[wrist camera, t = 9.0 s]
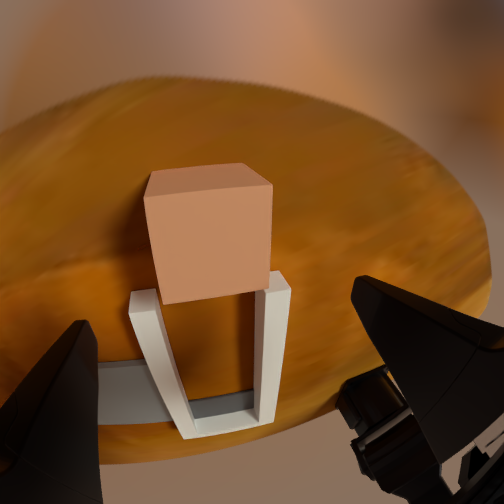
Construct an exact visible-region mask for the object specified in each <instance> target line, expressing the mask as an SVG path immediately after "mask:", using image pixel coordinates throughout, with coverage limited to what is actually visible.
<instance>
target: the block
mask: <svg viewBox="0 0 504 504" xmlns="http://www.w3.org/2000/svg"><path fill="white" fill-rule="evenodd" d="M272 194H273V185H272V184H271V183H270V182H268V181H267V180H266V179H264V178H263V177H261V176H260V175H259V174H257V173H256V172H255V171H253V170H252V169H250V168H249V167H248V166H246V165H245V164H243V163H233V164H219V165H207V166H196V167H186V168H177V169H168V170H160V171H153V172H152V173H151V176H150V179H149V182H148V185H147V188H146V191H145V195H144V205H145V212H146V219H147V225H148V231H149V237H150V243H151V248H152V254H153V259H154V264H155V269H156V274H157V279H158V283H159V288H160V292H161V297H162V301H163V305H165V304H172V303H180V302H187V301H194V300H200V299H207V298H214V297H220V296H226V295H233V294H239V293H245V292H251V291H257V290H263V289H268V288H269V277H270V253H271V226H272Z"/></svg>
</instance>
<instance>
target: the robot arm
mask: <svg viewBox="0 0 504 504" xmlns="http://www.w3.org/2000/svg"><path fill="white" fill-rule="evenodd" d="M351 302H352V304H353V306H354V308H355V310H356V312H357V314H358V316H359V318H360V320H361V322H362V324H363V326H364V328H365V330H366V332H367V334H368V336H369V338H370V339H371V341H372V343H373V344H374V346H375V348H376V349H377V351H378V353H379V354H380V356H381V358H382V359H383V361H384V363H385V364H386V365H384V366H382V367H379V368H377V369H375V370H373V371H370V372H368V373H365V374H363V375H361V376H358V377H356V378H353V379H350V380H349V381H347V382H346V384H345V386H344V388H343V391H342V393H341V395H340V397H339V399H338V401H337V403H336V405H335V408H336V409H337V410H338V409H339V410H340V412H341V414H342V416H343V417H344V419H345V421H346V422H347V424H348V426H349V428H350V429H355V431H356V432H357V434H358V436H359V437H358V438H356V439H353V440H352V441H351V442H352V443H351V444H350V446H351V447H352V449H353V451H354V453H355V455H356V458H357V461H358V464H359V468H360V471H361V473H362V474H363V475H367V476H368V477H369V478H370V479H371V480H372V481H375V480H376V481H377V483H378V484H379V486H380V488H381V490H383V491H385V492H387V493H389V494H390V493H392V494H394V495H397V496H399V497H402V498H404V499H406V500H407V501H408V503H409V504H504V327H500V326H497V325H495V324H492V323H489V322H485V321H483V320H480V319H477V318H474V317H471V316H468V315H466V314H463V313H461V312H458V311H456V310H453V309H451V308H448V307H446V306H443V305H441V304H438V303H436V302H433V301H431V300H428V299H426V298H423V297H421V296H418V295H416V294H413V293H411V292H408V291H406V290H403V289H401V288H398V287H396V286H393V285H391V284H388V283H386V282H383V281H380V280H378V279H375V278H373V277H370V276H367V275H363V276H358V277H356V278H355V280H354V284H353V288H352V292H351ZM388 371H390V373H391V375H392V376H393V378H394V380H395V381H396V383H397V385H398V387H399V389H400V390H401V392H402V394H403V396H404V397H405V398H404V397H403V396H402V394H401V393H400V392H399V390H398V389H397V387H396V386H395V385H394V383H393V382H392V381H391V379H390V378H389V377H388V375H387V373H388ZM98 395H99V378H98V344H97V339H96V337H95V334H94V332H93V330H92V328H91V326H90V324H89V322H88V321H87V320H76V321H74V322H73V323H72V325H71V326H70V327H69V328H68V329H67V330H66V331H65V332H64V333H63V334H62V335H61V336H60V337H59V339H58V340H57V341H56V342H55V343H54V344H53V345H52V346H51V347H50V349H49V350H48V351H47V352H46V353H45V354H44V355H43V357H42V358H41V359H40V360H39V361H38V362H37V364H36V365H35V366H34V367H33V368H32V370H31V371H30V372H29V373H28V374H27V376H26V377H25V378H24V379H23V380H22V382H21V383H20V384H19V385H18V387H17V388H16V389H15V392H13V393H12V394H11V396H10V397H9V398H8V399H7V401H6V402H5V403H4V404H3V406H2V407H1V408H0V504H103V498H102V491H101V481H100V469H99V452H98ZM405 399H406V400H405ZM412 412H413V415H412V414H411V413H412ZM472 441H474V443H475V445H474V446H473V447H472V448H471V449H470V450H469V451H468V452H467V453H466V454H465V455H464V456H463V457H462V463H461V468H460V474H459V480H458V484H459V485H460V487H461V489H460V490H458V491H457V493H455V494H453V493H452V491H451V490H450V488H449V487H448V485H447V483H446V482H445V480H444V479H443V477H442V476H441V470H442V463H444V462H445V461H446V460H448V459H449V458H451V457H452V456H453V455H455V454H456V453H458V452H459V451H460V450H461V449H463V448H464V447H465V446H467V445H468V444H469V443H470V442H472Z"/></svg>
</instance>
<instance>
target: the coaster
mask: <svg viewBox="0 0 504 504" xmlns="http://www.w3.org/2000/svg"><path fill="white" fill-rule="evenodd" d="M98 378H99V395H98V425H113V424H140V423H155V422H166V421H174V420H173V418H172V416H171V414H170V412H169V410H168V408H167V406H166V404H165V402H164V400H163V398H162V396H161V394H160V392H159V389H158V387H157V385H156V383H155V381H154V378H153V376H152V374H151V371H150V369H149V367H148V364H147V362H146V359H139V360H128V361H116V362H101V363H98Z"/></svg>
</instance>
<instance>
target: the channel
mask: <svg viewBox="0 0 504 504" xmlns="http://www.w3.org/2000/svg"><path fill="white" fill-rule="evenodd" d="M290 295H291V288H290V286H289V285H288V283H287V282H286V280H285V279H284V277H283V276H282V275H281V273H280V272H279V270H278V271H272V272H270V277H269V288H268V289H263V290H257V291H255V337H254V389H250V390H246V391H241V392H236V393H231V394H226V395H220V396H215V397H209V398H203V399H196V400H189V401H188V399H187V397H186V394H185V391H184V388H183V385H182V382H181V379H180V376H179V373H178V369H177V366H176V363H175V360H174V357H173V353H172V350H171V346H170V343H169V339H168V336H167V332H166V328H165V325H164V321H163V317H162V313H161V309H160V305H159V301H158V297H157V293H156V288H154V289H147V290H139V291H131V297H130V305H129V313H128V314H129V317H130V320H131V322H132V325H133V328H134V331H135V334H136V336H137V339H138V342H139V344H140V347H141V349H142V352H143V354H144V357H145V359H146V362H147V364H148V367H149V369H150V371H151V374H152V376H153V378H154V381H155V383H156V385H157V387H158V389H159V392H160V394H161V396H162V398H163V400H164V402H165V404H166V406H167V408H168V410H169V412H170V414H171V416H172V418H173V420H174V422H175V424H176V426H177V428H178V430H179V432H180V433H181V435H182V437H183V439H190V438H198V437H205V436H211V435H217V434H222V433H228V432H233V431H238V430H243V429H247V428H251V427H256V426H260V425H264V424H268V423H272V422H274V416H275V409H276V403H277V397H278V390H279V383H280V376H281V369H282V362H283V354H284V347H285V339H286V331H287V322H288V314H289V305H290Z"/></svg>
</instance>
